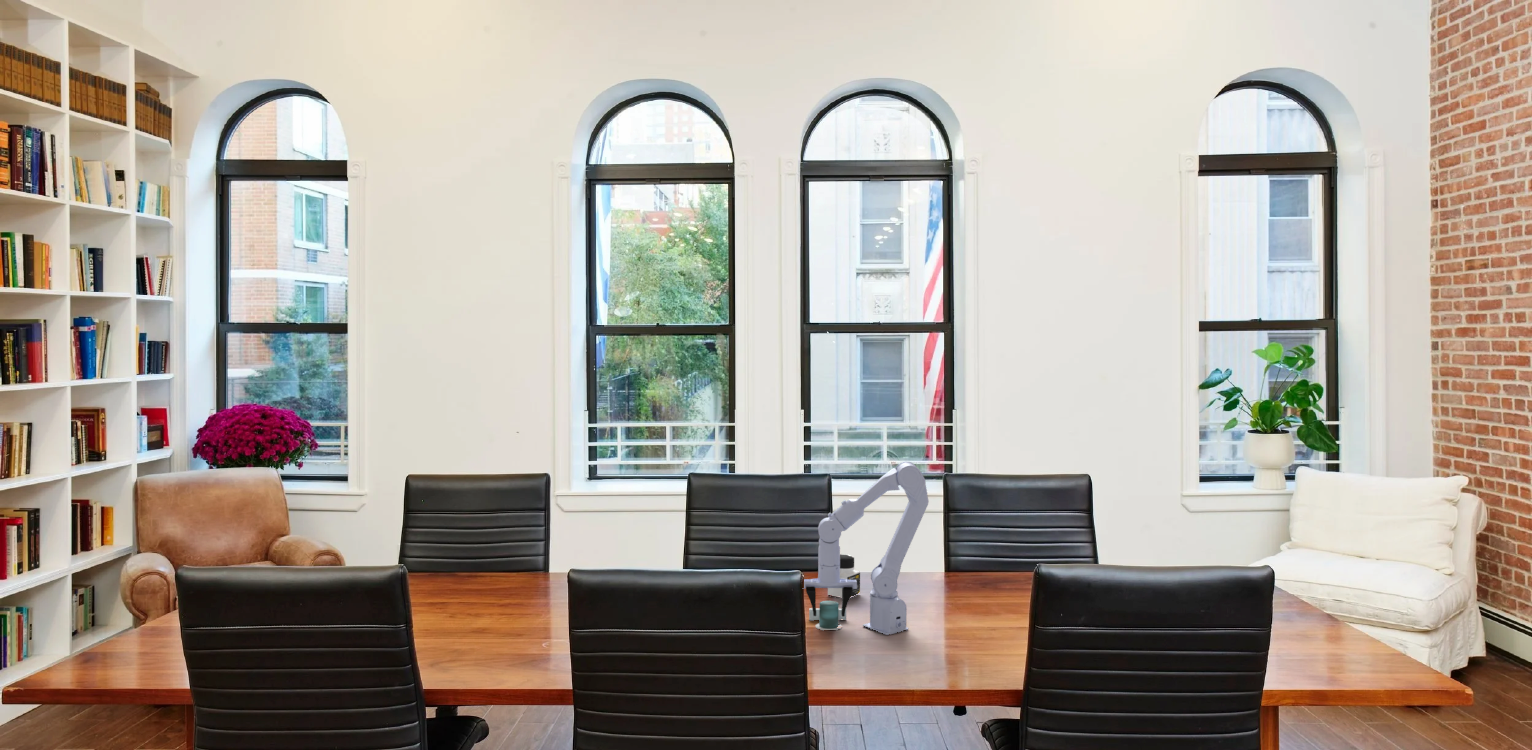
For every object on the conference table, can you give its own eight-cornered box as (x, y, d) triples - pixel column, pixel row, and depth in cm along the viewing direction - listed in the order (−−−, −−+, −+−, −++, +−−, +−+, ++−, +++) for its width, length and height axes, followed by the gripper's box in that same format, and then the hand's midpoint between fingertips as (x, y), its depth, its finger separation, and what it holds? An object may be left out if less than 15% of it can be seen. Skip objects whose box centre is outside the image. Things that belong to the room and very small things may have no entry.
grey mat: (847, 627, 239) (847, 626, 239) (827, 632, 235) (827, 631, 235) (830, 621, 245) (830, 620, 245) (810, 625, 241) (810, 625, 241)
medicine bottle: (847, 600, 266) (847, 559, 265) (827, 596, 270) (827, 555, 270) (860, 594, 271) (860, 554, 271) (840, 590, 276) (840, 551, 275)
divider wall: (846, 619, 246) (846, 608, 246) (846, 620, 245) (846, 609, 245) (809, 619, 247) (809, 608, 246) (809, 620, 246) (809, 609, 245)
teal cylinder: (842, 626, 239) (842, 604, 239) (827, 629, 237) (827, 607, 236) (830, 621, 244) (830, 599, 243) (815, 625, 241) (815, 602, 240)
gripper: (855, 560, 243) (855, 610, 244) (801, 560, 244) (801, 610, 244) (857, 566, 236) (857, 618, 237) (801, 566, 237) (801, 618, 237)
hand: (828, 615), depth 240 cm, fingers open, 7 cm apart
